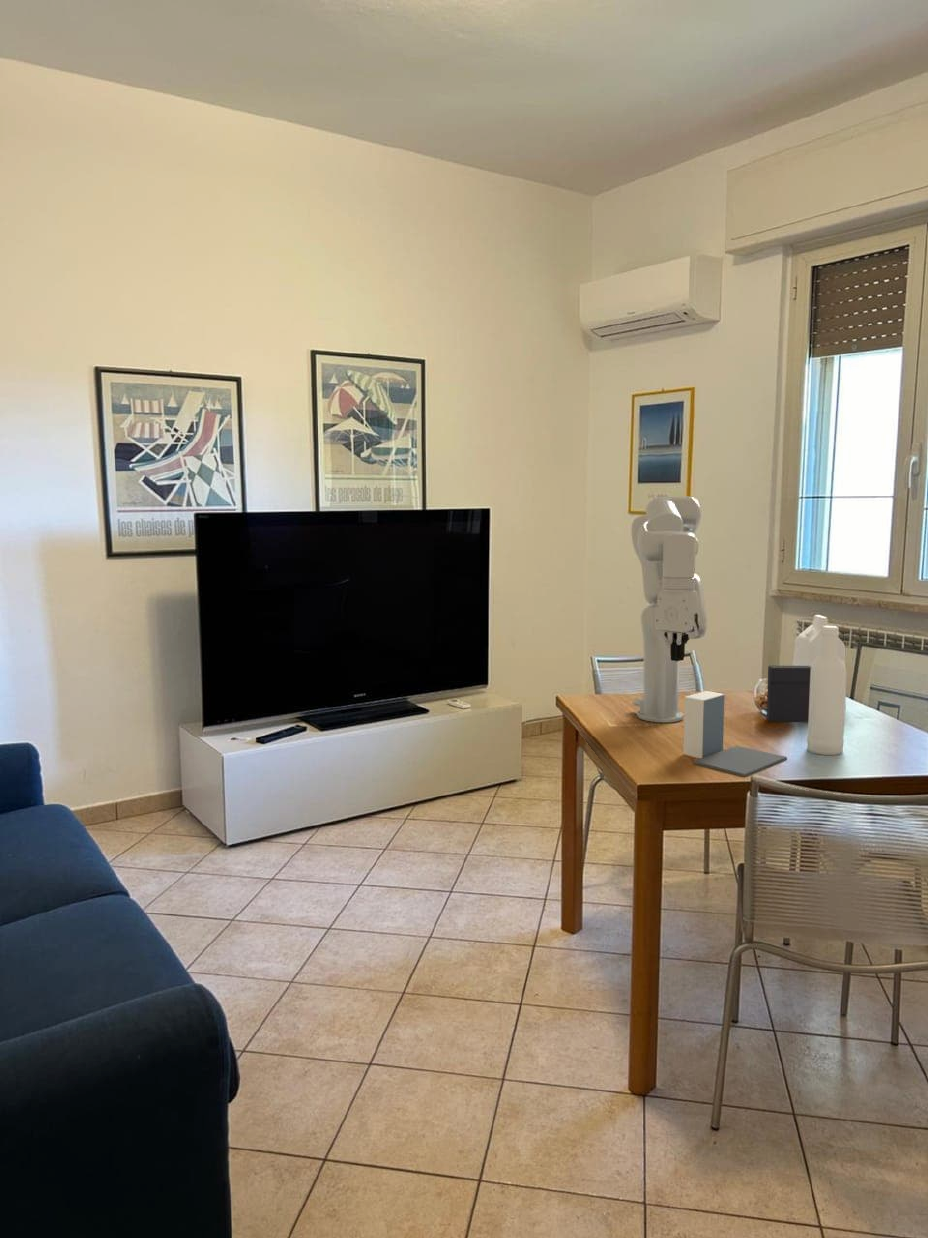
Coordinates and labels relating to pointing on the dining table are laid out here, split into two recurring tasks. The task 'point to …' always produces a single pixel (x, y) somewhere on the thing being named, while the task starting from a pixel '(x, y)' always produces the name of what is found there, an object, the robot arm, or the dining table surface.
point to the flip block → (704, 724)
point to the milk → (813, 644)
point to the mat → (740, 760)
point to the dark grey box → (788, 693)
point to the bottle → (827, 697)
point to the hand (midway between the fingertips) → (677, 660)
